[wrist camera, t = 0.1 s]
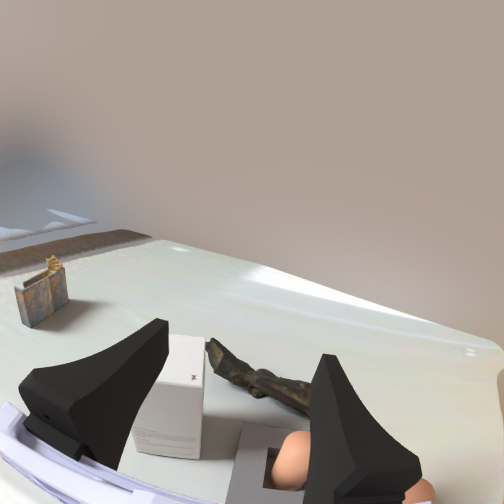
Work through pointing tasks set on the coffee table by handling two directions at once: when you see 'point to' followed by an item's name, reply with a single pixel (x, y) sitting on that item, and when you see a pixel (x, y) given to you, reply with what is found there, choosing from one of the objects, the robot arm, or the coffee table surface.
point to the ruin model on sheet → (42, 294)
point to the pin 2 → (419, 493)
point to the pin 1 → (292, 462)
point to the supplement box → (174, 403)
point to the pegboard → (258, 467)
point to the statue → (258, 378)
